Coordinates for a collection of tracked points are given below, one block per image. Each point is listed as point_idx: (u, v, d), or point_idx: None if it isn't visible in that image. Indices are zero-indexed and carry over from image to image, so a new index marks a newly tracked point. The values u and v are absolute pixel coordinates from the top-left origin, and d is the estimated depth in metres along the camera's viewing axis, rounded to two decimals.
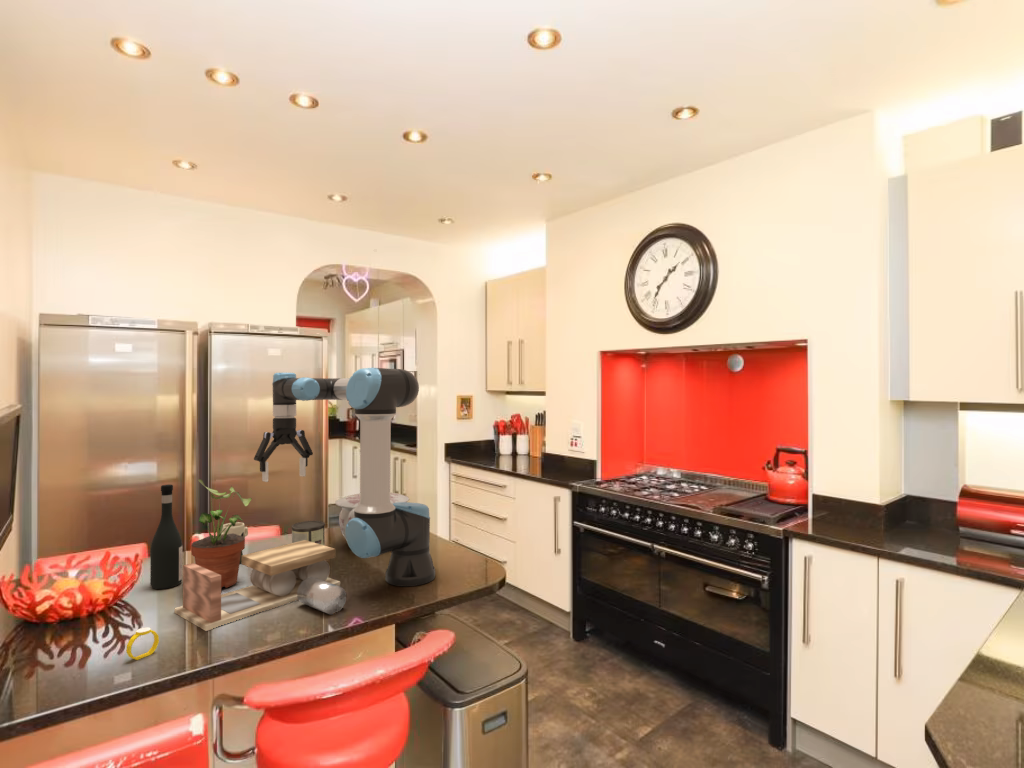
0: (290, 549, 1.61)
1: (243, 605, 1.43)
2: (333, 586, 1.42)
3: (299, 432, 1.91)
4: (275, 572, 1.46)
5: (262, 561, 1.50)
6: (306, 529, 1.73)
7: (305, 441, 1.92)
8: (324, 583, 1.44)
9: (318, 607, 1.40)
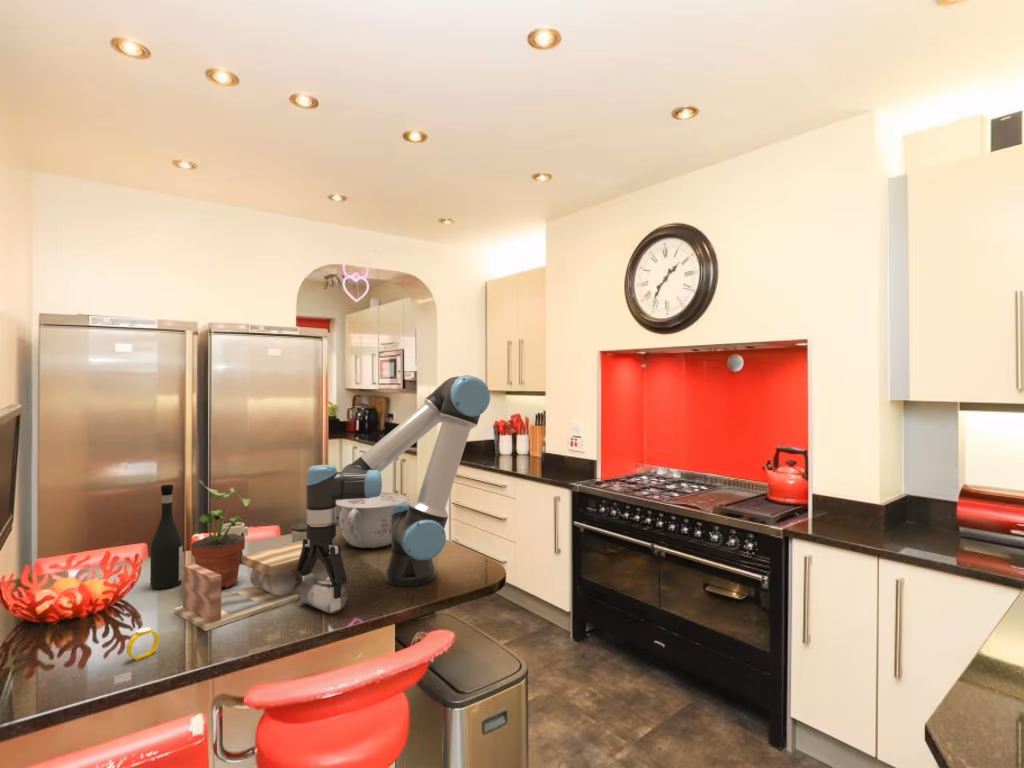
0: (290, 549, 1.61)
1: (243, 605, 1.43)
2: None
3: None
4: (275, 572, 1.46)
5: (262, 561, 1.50)
6: None
7: (333, 563, 1.40)
8: (325, 582, 1.44)
9: (318, 606, 1.40)
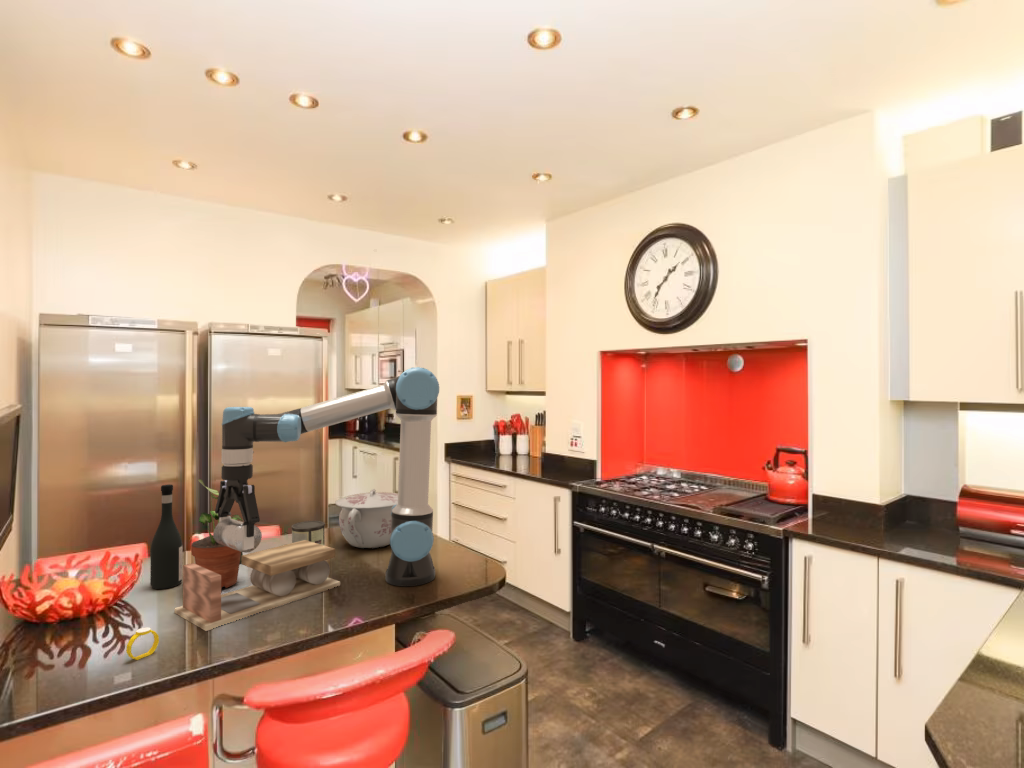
0: (290, 549, 1.61)
1: (243, 605, 1.43)
2: None
3: None
4: (275, 572, 1.46)
5: (262, 561, 1.50)
6: (306, 529, 1.73)
7: (245, 502, 1.40)
8: (240, 522, 1.45)
9: (231, 544, 1.41)
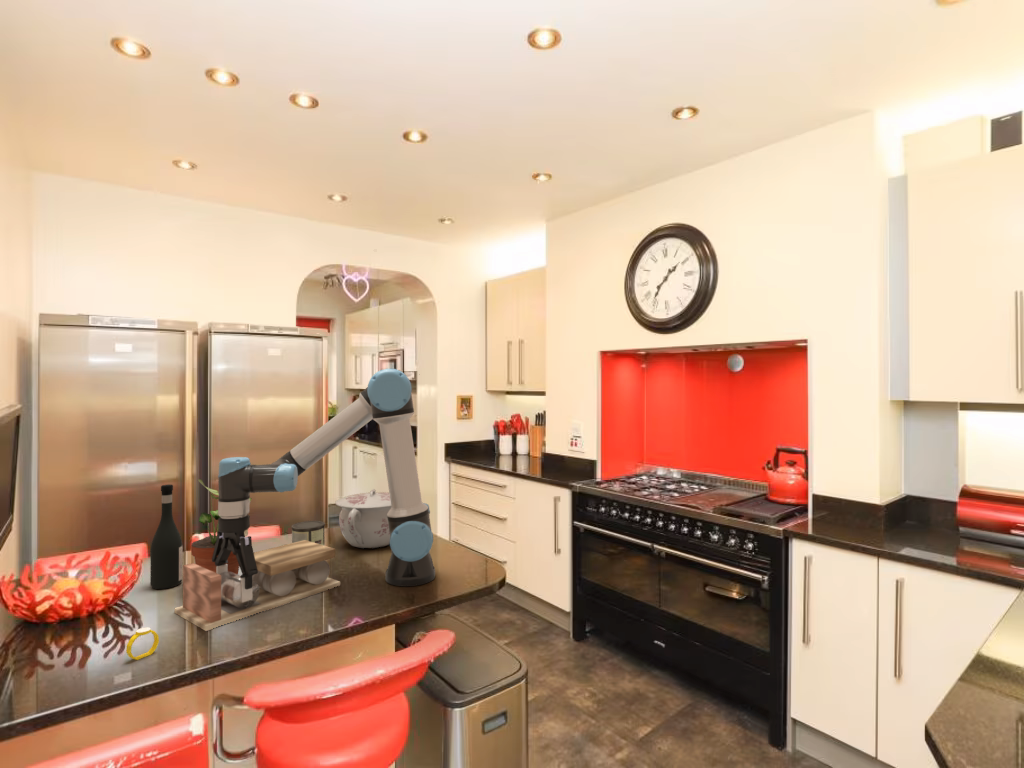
0: (290, 549, 1.61)
1: None
2: None
3: None
4: (275, 572, 1.46)
5: (262, 561, 1.50)
6: (306, 529, 1.73)
7: (243, 554, 1.40)
8: (238, 577, 1.44)
9: (229, 600, 1.41)
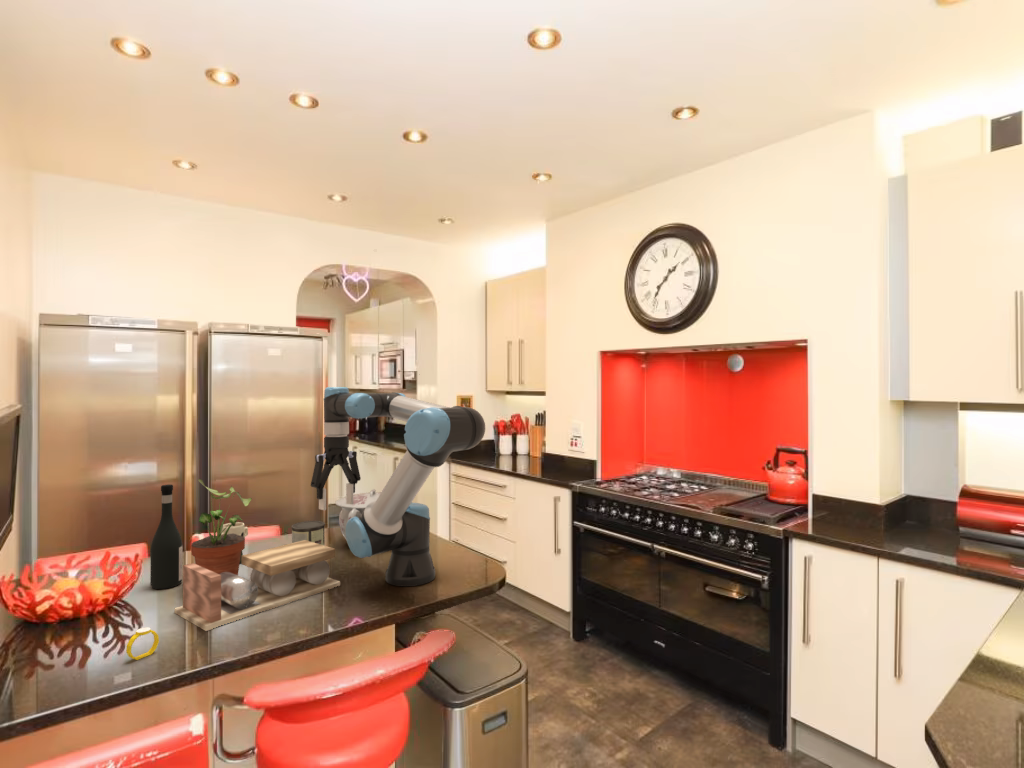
0: (290, 549, 1.61)
1: None
2: (243, 581, 1.42)
3: (351, 453, 1.75)
4: (275, 572, 1.46)
5: (262, 561, 1.50)
6: (306, 529, 1.73)
7: (355, 464, 1.75)
8: (235, 578, 1.44)
9: (228, 602, 1.40)
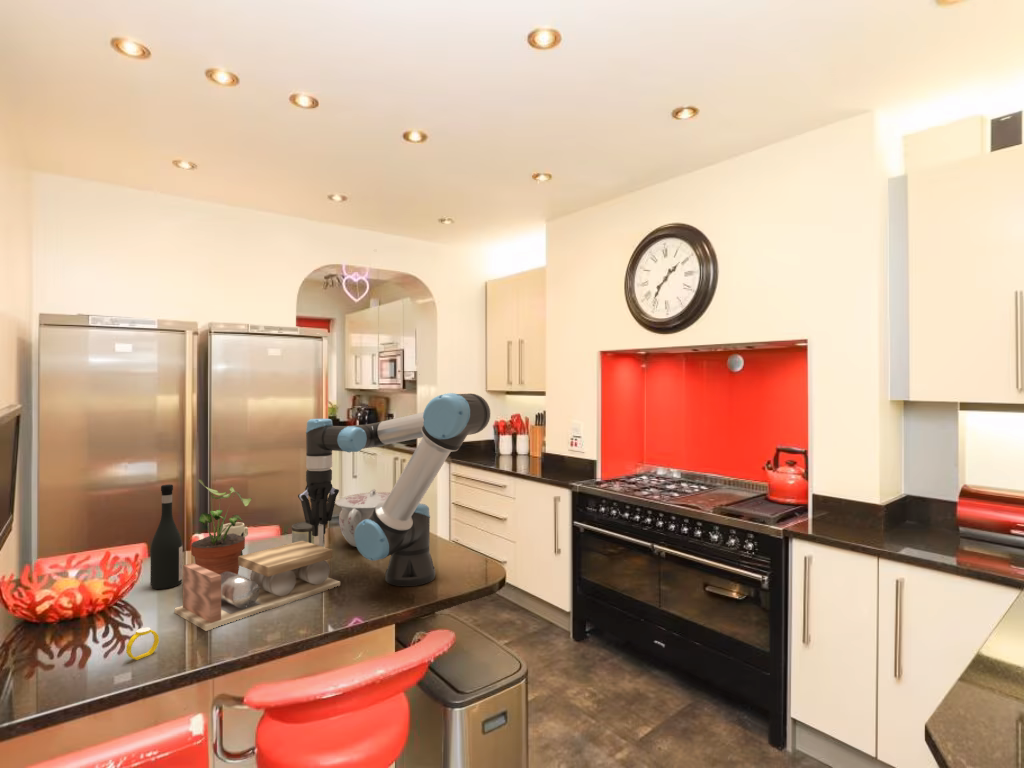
0: (287, 550, 1.60)
1: None
2: (246, 580, 1.42)
3: (333, 489, 1.70)
4: (272, 573, 1.45)
5: (259, 562, 1.49)
6: (306, 529, 1.73)
7: (333, 502, 1.69)
8: (238, 577, 1.44)
9: (229, 600, 1.41)
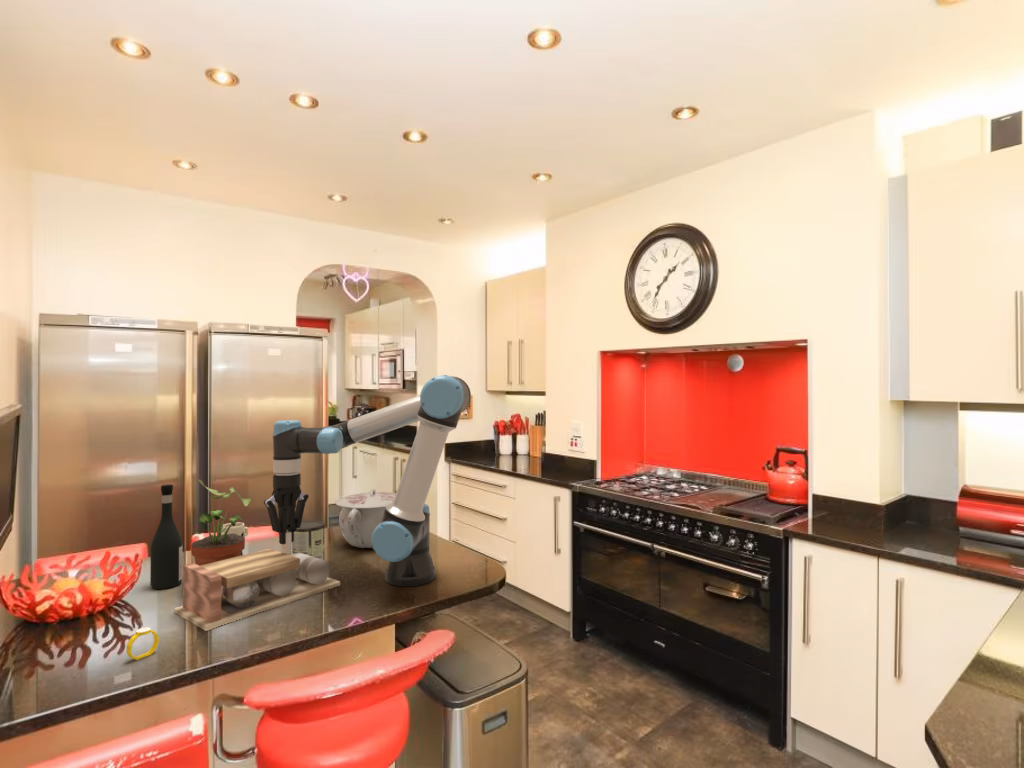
0: (252, 559, 1.51)
1: None
2: None
3: (303, 495, 1.61)
4: (232, 584, 1.37)
5: (219, 572, 1.40)
6: (306, 529, 1.73)
7: (302, 508, 1.60)
8: None
9: (229, 600, 1.41)
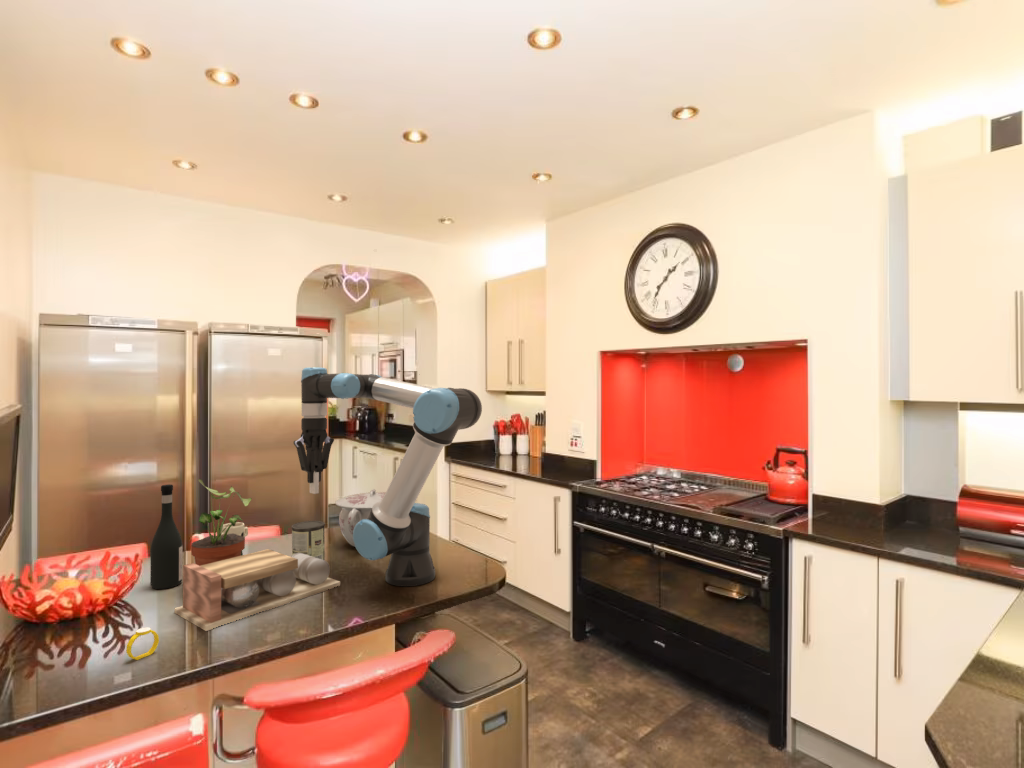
0: (250, 559, 1.51)
1: None
2: None
3: (328, 438, 1.72)
4: (229, 585, 1.36)
5: None
6: (306, 529, 1.73)
7: (328, 450, 1.71)
8: None
9: (228, 601, 1.41)
